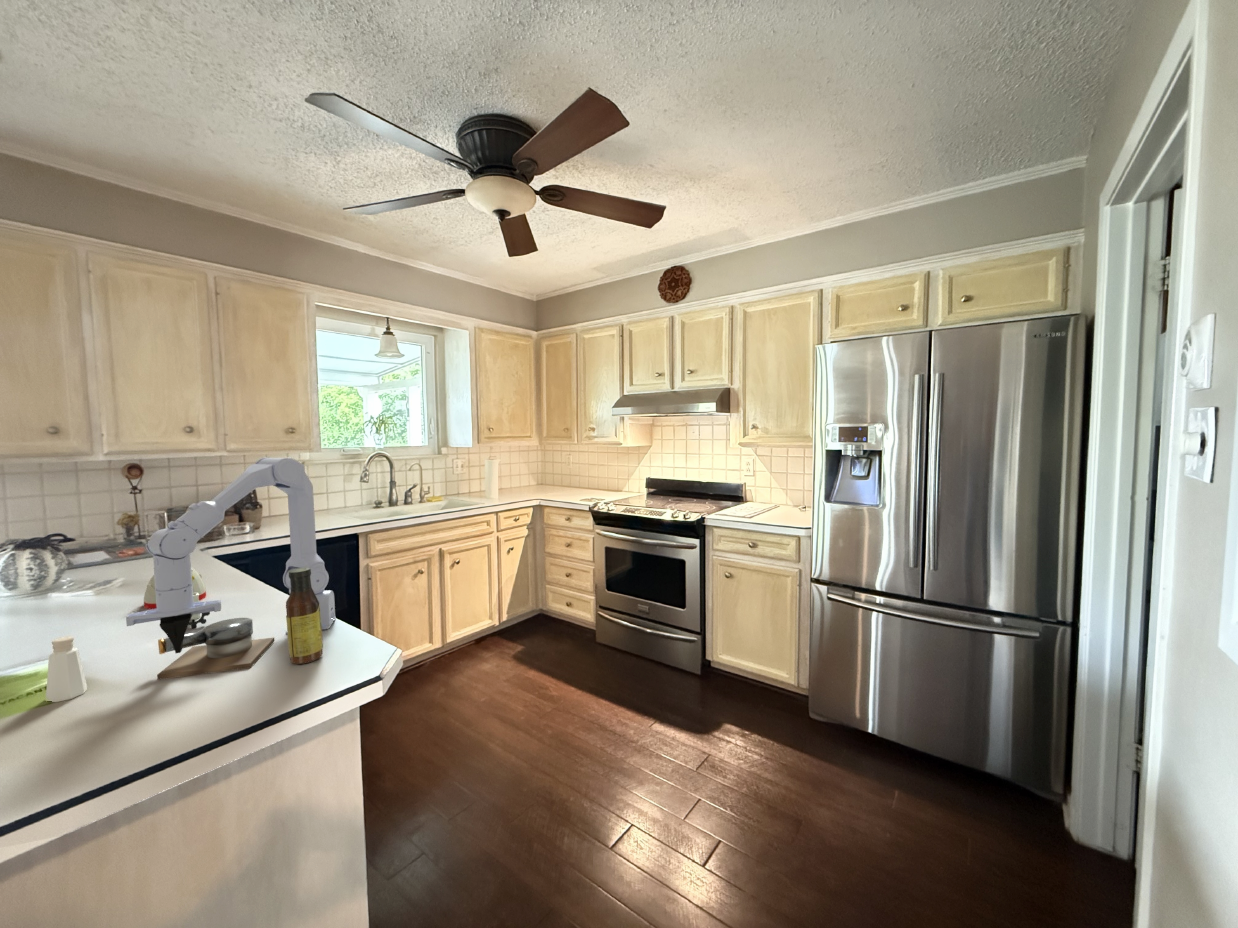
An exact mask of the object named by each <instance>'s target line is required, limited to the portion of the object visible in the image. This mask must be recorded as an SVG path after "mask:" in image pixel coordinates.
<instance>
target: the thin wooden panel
mask: <svg viewBox="0 0 1238 928" xmlns="http://www.w3.org/2000/svg"><path fill="white" fill-rule="evenodd" d="M252 635H253V634H252ZM252 635H251V636H249V637H247V638H245V639H243V640H240V641H237V642H233V643H228V644H223V645H207V644H202V645H195V646H191V647H190V648H189V649H188V650H186V652H184V653H183V654H181V655H180V656H179V657H178V658H176V659H175V660H174V661H173V662H171V663H170V664H169V665H168V666H166V667H165V668H164V669H163V670H161V671H160V672H159V673H157V674H156V677H157V680H164V679H173V678H181V677H189V676H196V675H204V674H211V673H219V672H227V671H228V672H230V671H234V670H235V671H236V670H244V669H251V668H252V667H253V666H254V665H255V664H254V663H256V662H258V660H259V659H260V658H261V657H262V656H263V655H264V654H265V653H266V652H267V650H269V648H270V647H271V646H272V645H273V644H274V643H275V642H274V641H275V637H267V638H257V639H253V637H252ZM273 642H274V643H273ZM272 643H273V644H272ZM271 644H272V645H271ZM270 645H271V646H270ZM269 646H270V647H269ZM264 652H265V653H264ZM263 653H264V654H263ZM262 654H263V655H262ZM261 655H262V656H261ZM259 657H260V658H259ZM253 664H254V665H253Z"/></svg>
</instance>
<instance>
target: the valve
mask: <svg viewBox="0 0 1238 928" xmlns="http://www.w3.org/2000/svg"><path fill="white" fill-rule="evenodd" d="M193 600H194V602H201V600H200V601H199V594H198V593H193ZM210 614H211V612H206V613H200V614H194V615H192V617H191V619H190V622H189V624H188V626H190V627H191V629H192V630H194V629H197V627H198V626H197V625H198V624H199V623H201V625H204V624H206V623H207V619H206V618H205V617H208V616H209V615H210ZM195 620H196V621H195Z"/></svg>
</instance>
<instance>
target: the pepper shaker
mask: <svg viewBox="0 0 1238 928" xmlns="http://www.w3.org/2000/svg"><path fill="white" fill-rule="evenodd" d="M74 640H75V637H74V636H71V635H70V636H69V635H68V636H62V637H58V638H56V639H54V640H51V645H52V650H53V652H51V653H50V654H49V655H48V663H47V664H48V665H47V678H46V689H45V690H46V692H45V700H46V699H48V700H50V701H52V702H51V703H58V702H59V703H60V702H63V701H68V700H72V699H74V698H76V697H79V696H81V695H84V693H85V692H86V691H87V690H88V684H87V680H86V676H85V672H84V668H83V662H82V658H81V656H80V651H79V647H78V648H77V647H74V644H75V643H74Z"/></svg>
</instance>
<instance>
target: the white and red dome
mask: <svg viewBox="0 0 1238 928" xmlns="http://www.w3.org/2000/svg"><path fill="white" fill-rule="evenodd" d="M191 571H192V585H193V593H198V594H199V601H200V602H201V601H202V600H204V599H205V598H206V597H207V589H206V586H205V583H204V582H203V579H202V574H201V573H200V572H198V571H196V569H195V568H194V567H192V566H191ZM143 596H144V597H143V607H144V609H147V610H152V609H156V608H157V606H156V592H155V579H154V574H153V575H152V576H151V578H150V580H149V581H148V584H147V585H146V589H145V592H144V595H143Z"/></svg>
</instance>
